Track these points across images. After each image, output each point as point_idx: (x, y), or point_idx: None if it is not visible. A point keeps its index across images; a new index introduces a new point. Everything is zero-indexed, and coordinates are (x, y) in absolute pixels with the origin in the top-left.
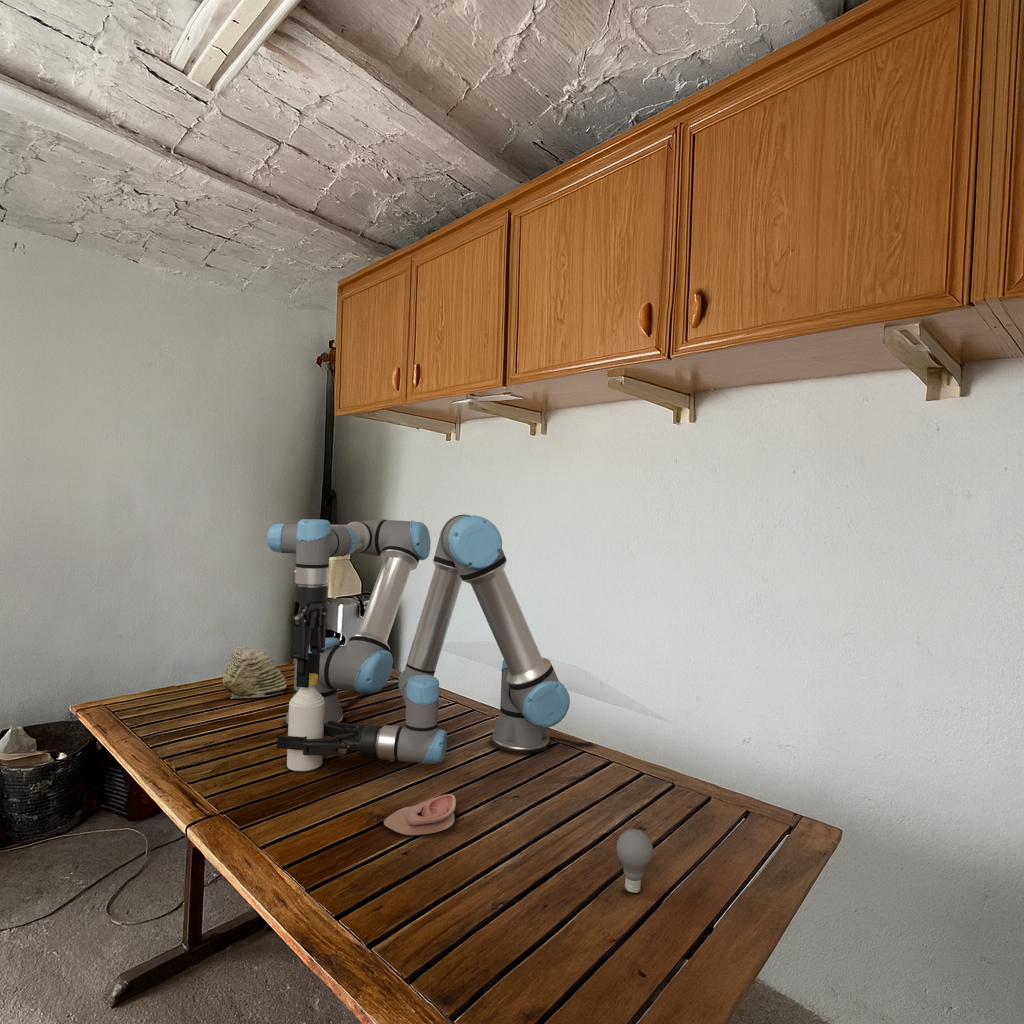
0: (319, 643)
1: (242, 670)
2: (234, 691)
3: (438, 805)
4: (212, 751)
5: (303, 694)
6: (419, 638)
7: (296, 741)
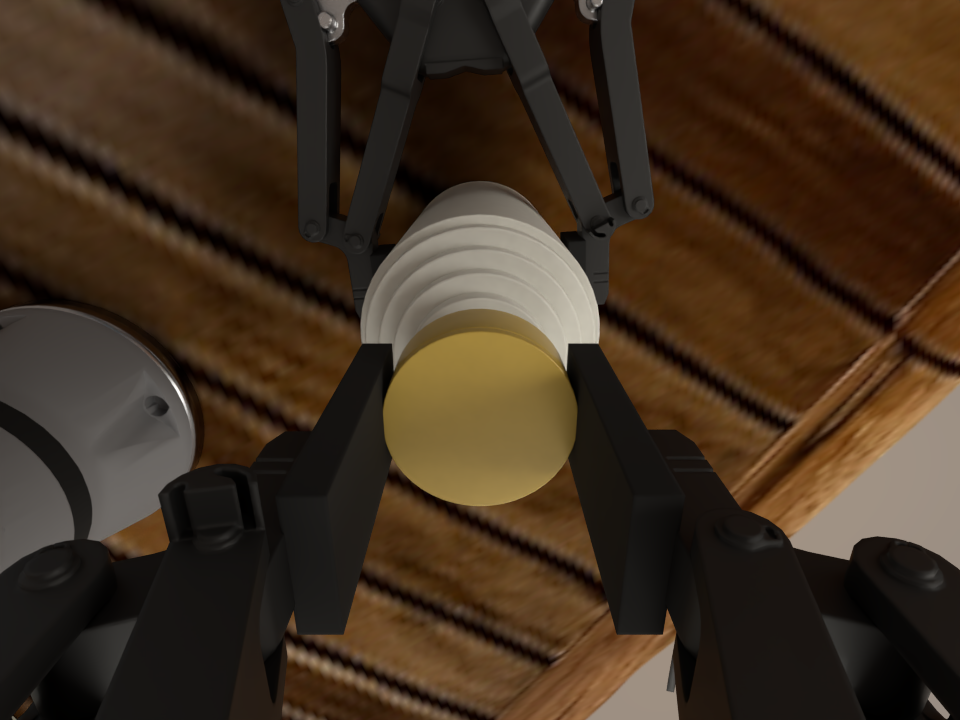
0: (215, 649)
1: None
2: None
3: None
4: (467, 582)
5: None
6: None
7: (592, 275)
